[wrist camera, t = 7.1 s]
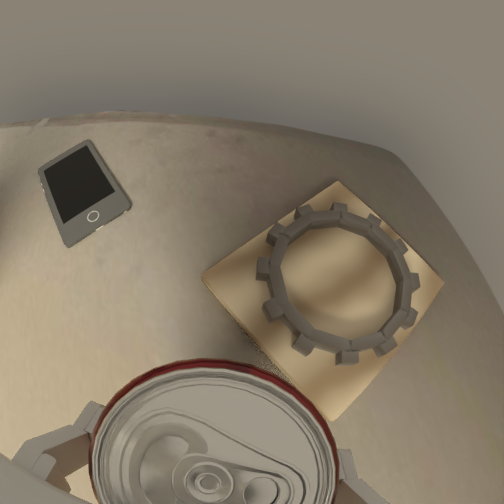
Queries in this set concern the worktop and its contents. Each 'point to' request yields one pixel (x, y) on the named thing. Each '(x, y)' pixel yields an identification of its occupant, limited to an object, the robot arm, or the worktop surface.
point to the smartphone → (81, 193)
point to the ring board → (326, 295)
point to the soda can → (212, 439)
